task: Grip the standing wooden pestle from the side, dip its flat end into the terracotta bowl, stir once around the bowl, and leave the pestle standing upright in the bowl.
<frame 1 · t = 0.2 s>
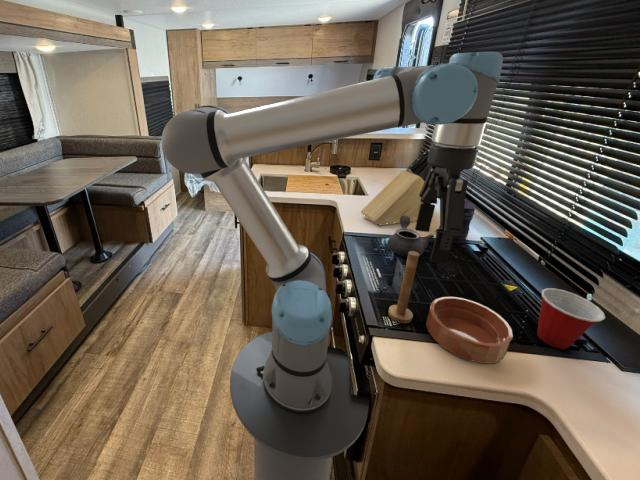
hand: (429, 244, 65), 29 cm above the table, tool pointing down, fingers open, 13 cm apart
plastic cup: (553, 340, 76), on the table
storage jar: (451, 237, 125), on the table
knife block: (399, 218, 143), on the table
wooden pestle: (399, 315, 85), on the table
teapot: (405, 247, 119), on the table
bowl: (462, 337, 78), on the table
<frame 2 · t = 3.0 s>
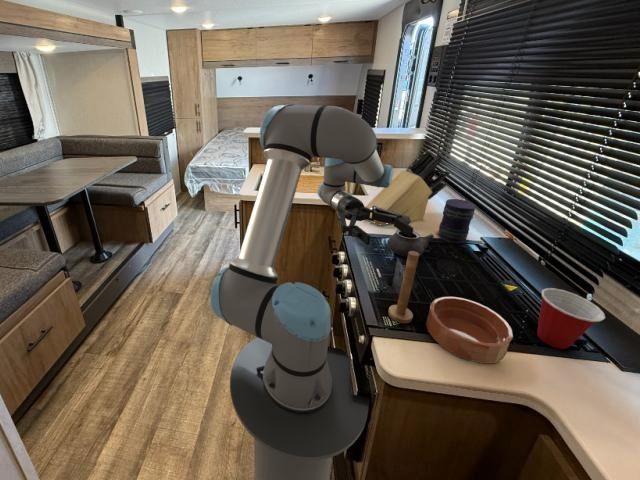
hand: (390, 236, 84), 21 cm above the table, tool horizontal, fingers open, 13 cm apart
nothing on the table moved.
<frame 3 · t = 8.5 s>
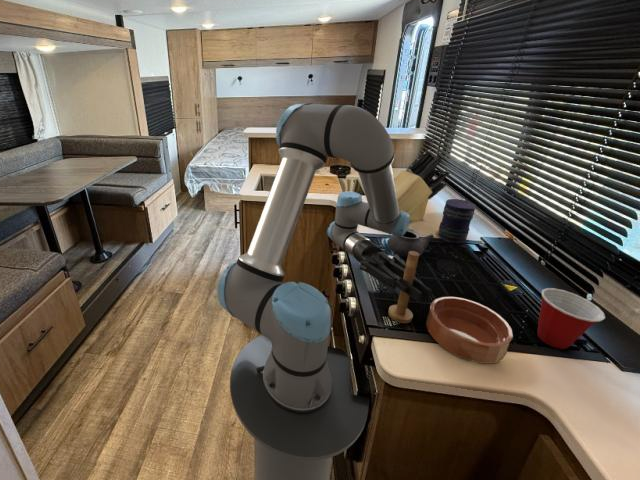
hand: (424, 295, 76), 11 cm above the table, tool horizontal, fingers closed on wooden pestle, 2 cm apart
wooden pestle: (399, 315, 85), on the table, touching gripper
everything else where it was.
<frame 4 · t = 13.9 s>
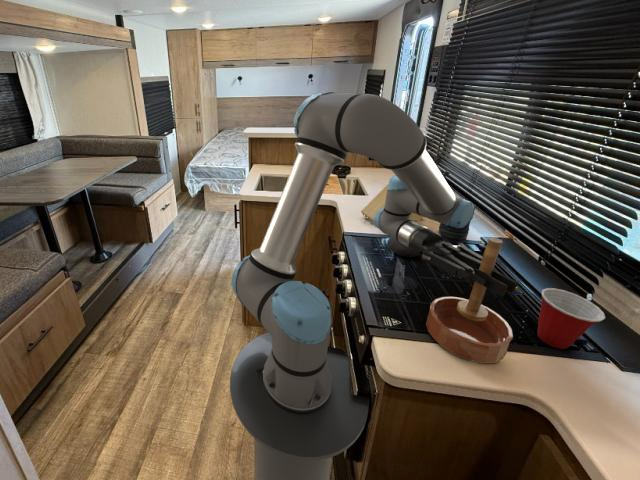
hand: (509, 289, 66), 19 cm above the table, tool horizontal, fingers closed on wooden pestle, 2 cm apart
wooden pestle: (471, 312, 75), point 8 cm above the table, touching gripper
everything else where it was.
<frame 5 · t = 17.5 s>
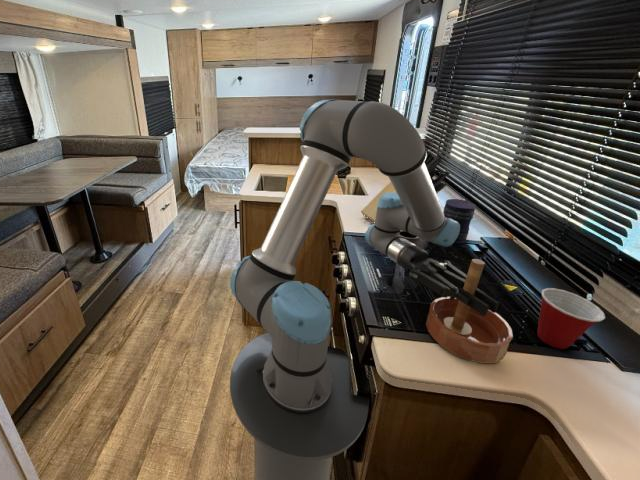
hand: (491, 309, 69), 13 cm above the table, tool horizontal, fingers closed on wooden pestle, 2 cm apart
wooden pestle: (456, 329, 78), point 2 cm above the table, touching gripper
everything else where it was.
when the fingers open (12 cm above the table, at t = 19.8 s): wooden pestle stays where it is, resting on bowl.
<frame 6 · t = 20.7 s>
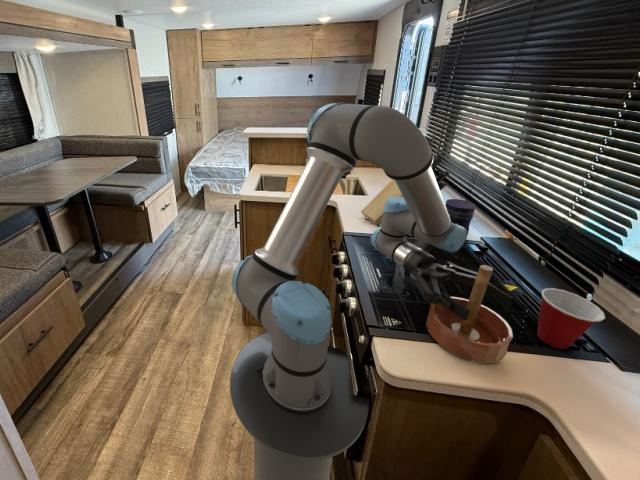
hand: (489, 308, 70), 12 cm above the table, tool horizontal, fingers open, 13 cm apart
wooden pestle: (463, 334, 78), point 1 cm above the table, touching bowl
everything else where it was.
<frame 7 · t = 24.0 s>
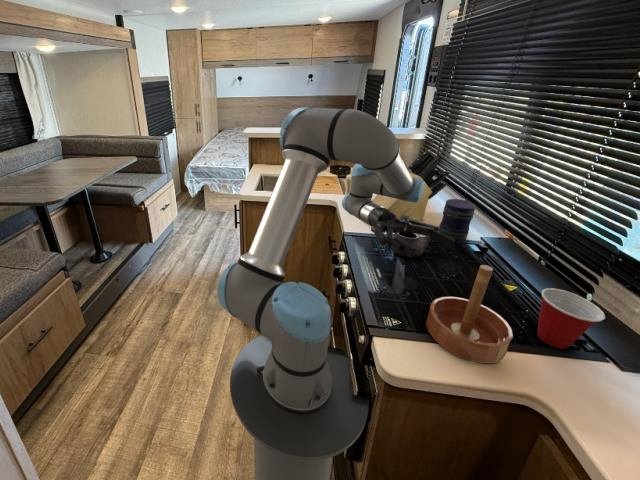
hand: (433, 249, 81), 19 cm above the table, tool horizontal, fingers open, 13 cm apart
nothing on the table moved.
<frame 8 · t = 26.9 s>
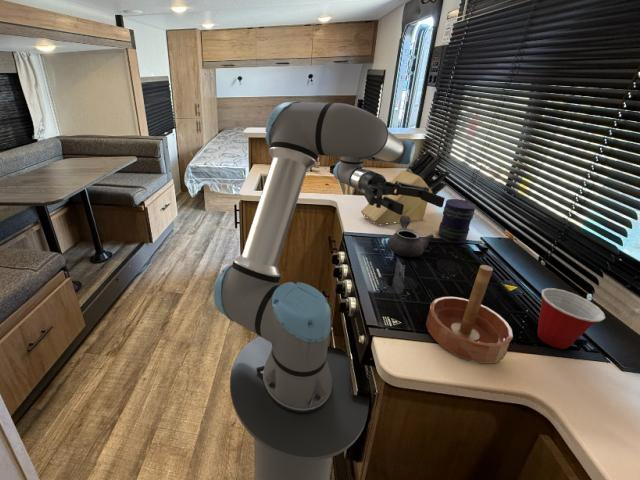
hand: (422, 206, 81), 30 cm above the table, tool horizontal, fingers open, 13 cm apart
nothing on the table moved.
at the end: wooden pestle inside the target area in the bowl (0.0 cm from its centre), point 0.8 cm above the bowl's base; wooden pestle tilted 0°; the gripper is holding nothing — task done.
